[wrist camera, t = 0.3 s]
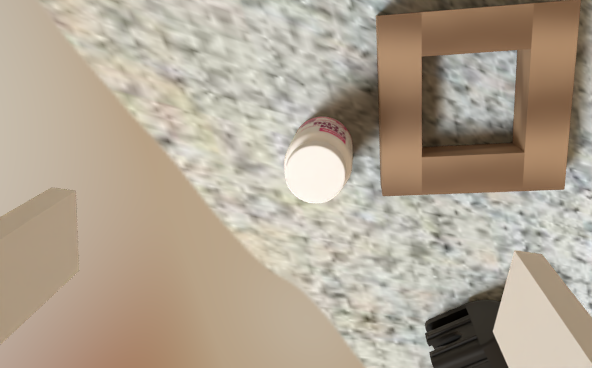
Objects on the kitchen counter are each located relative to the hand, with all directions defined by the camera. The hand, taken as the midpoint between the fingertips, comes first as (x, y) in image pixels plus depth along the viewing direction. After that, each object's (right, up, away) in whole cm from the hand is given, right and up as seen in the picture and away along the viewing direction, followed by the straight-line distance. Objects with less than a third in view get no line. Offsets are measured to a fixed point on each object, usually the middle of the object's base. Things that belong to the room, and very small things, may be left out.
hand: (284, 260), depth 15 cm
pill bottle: (+3, +6, +26) cm, 27 cm away
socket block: (+13, +9, +23) cm, 28 cm away
